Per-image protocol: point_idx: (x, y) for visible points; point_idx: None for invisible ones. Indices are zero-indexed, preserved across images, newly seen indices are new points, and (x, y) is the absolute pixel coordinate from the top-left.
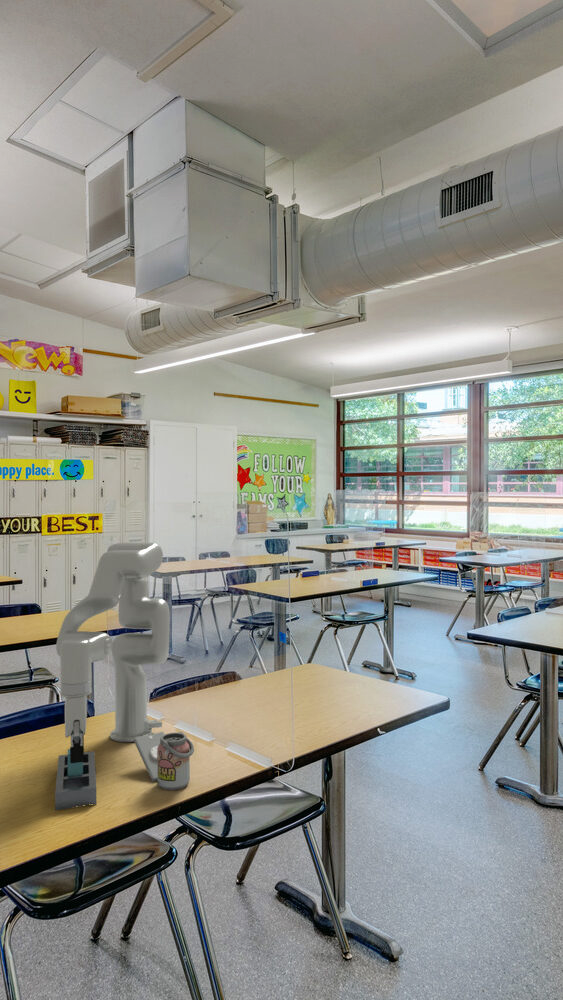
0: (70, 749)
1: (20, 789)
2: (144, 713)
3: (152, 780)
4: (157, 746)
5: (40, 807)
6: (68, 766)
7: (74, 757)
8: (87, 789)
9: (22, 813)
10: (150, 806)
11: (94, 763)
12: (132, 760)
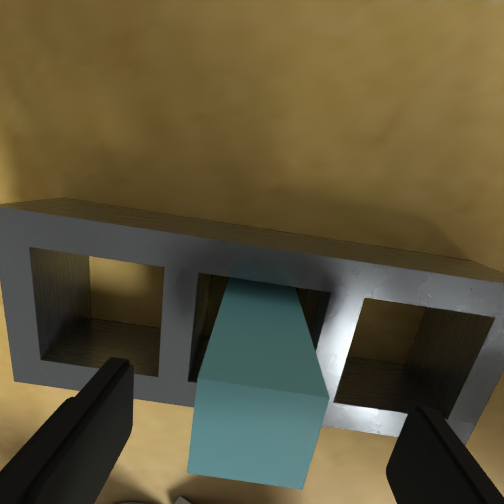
0: (12, 470)
1: (357, 61)
2: None
3: (178, 500)
4: None
5: (110, 142)
6: (215, 322)
7: (53, 417)
8: (14, 346)
9: (73, 54)
10: (13, 455)
11: None
12: (384, 490)
